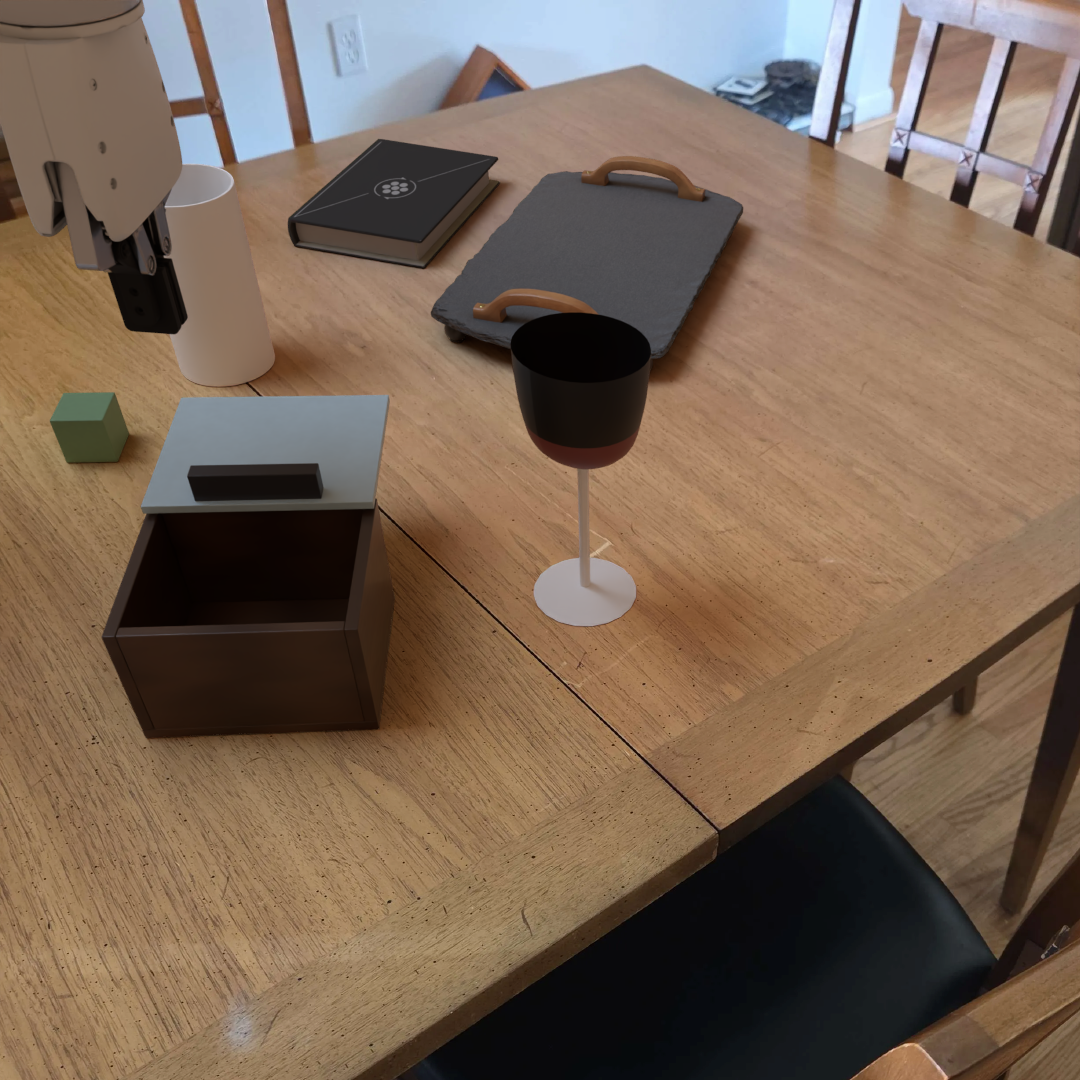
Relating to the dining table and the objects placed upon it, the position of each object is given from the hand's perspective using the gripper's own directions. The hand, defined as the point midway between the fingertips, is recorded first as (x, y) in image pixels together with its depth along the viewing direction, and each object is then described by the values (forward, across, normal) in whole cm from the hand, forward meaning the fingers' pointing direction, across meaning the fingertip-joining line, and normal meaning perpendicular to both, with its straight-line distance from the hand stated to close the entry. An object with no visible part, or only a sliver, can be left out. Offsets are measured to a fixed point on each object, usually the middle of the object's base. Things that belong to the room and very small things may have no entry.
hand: (157, 325), depth 69 cm
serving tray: (+20, -49, +21) cm, 57 cm away
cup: (+21, -29, -10) cm, 37 cm away
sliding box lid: (+11, -3, +4) cm, 12 cm away
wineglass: (+20, -2, +25) cm, 33 cm away
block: (+21, -15, -16) cm, 30 cm away
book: (+21, -60, -2) cm, 64 cm away
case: (+20, +8, +6) cm, 23 cm away
